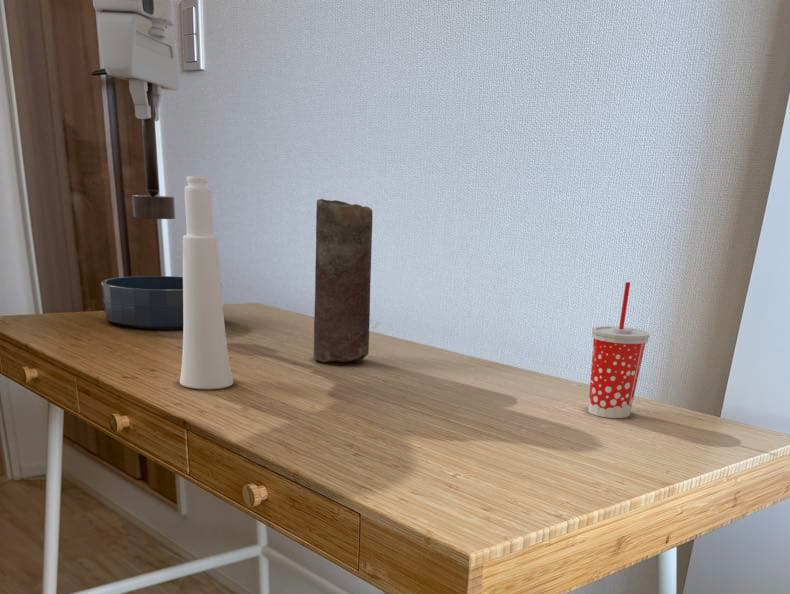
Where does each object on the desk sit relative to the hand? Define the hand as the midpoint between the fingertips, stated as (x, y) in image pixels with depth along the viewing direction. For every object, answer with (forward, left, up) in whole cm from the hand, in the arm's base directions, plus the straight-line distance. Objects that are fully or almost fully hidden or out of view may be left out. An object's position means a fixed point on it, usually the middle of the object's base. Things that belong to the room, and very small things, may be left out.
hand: (147, 120), depth 119 cm
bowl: (-1, +3, -29) cm, 29 cm away
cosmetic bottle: (+18, -37, -29) cm, 50 cm away
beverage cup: (+64, -38, -29) cm, 80 cm away
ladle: (0, 0, -13) cm, 13 cm away
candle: (+31, -19, -29) cm, 47 cm away
